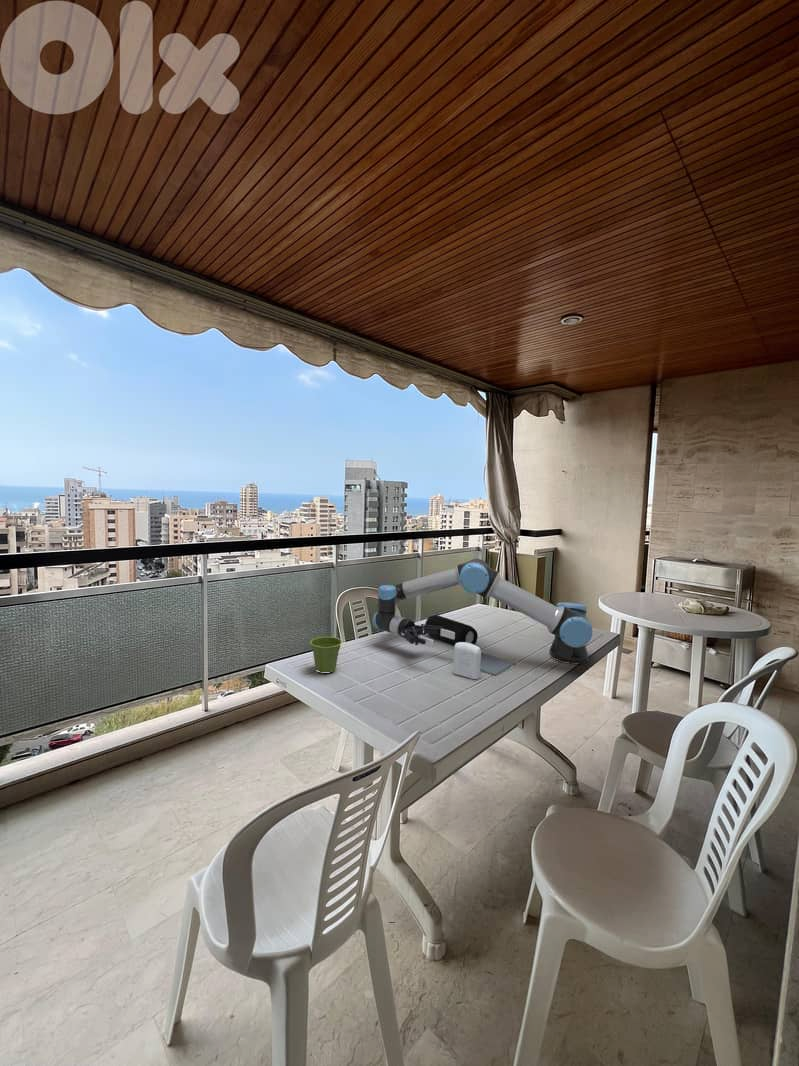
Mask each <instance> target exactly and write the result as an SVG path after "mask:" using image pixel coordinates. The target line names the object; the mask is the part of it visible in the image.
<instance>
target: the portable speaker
mask: <svg viewBox="0 0 799 1066" xmlns="http://www.w3.org/2000/svg"><path fill="white" fill-rule="evenodd" d="M424 624H425V625H432V626H443V627H444V629H445V630H448V631H452V632H455V639H450V638H447V637H444V636H440V634H429V635H430V636H432V637H434V638H437V639H440V640H442V641H445V642H448V643H449V644H452V645H453V644H454V645H455V644H456V643H458V642H466V643H471V644H473V645H476V643H478V642H477V641H478V639H479V637H478V635H479V634H478V631H477V630H476V629H475V628H474V627H473V626H471V625H469V624H465V623H463V622H459V621H457V620H455V619H454V620H453V619H451V618H447V617H444V616H441V615H438V614H435V615H430V616H428V617H427V618H426V620H425V623H424Z"/></svg>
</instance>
